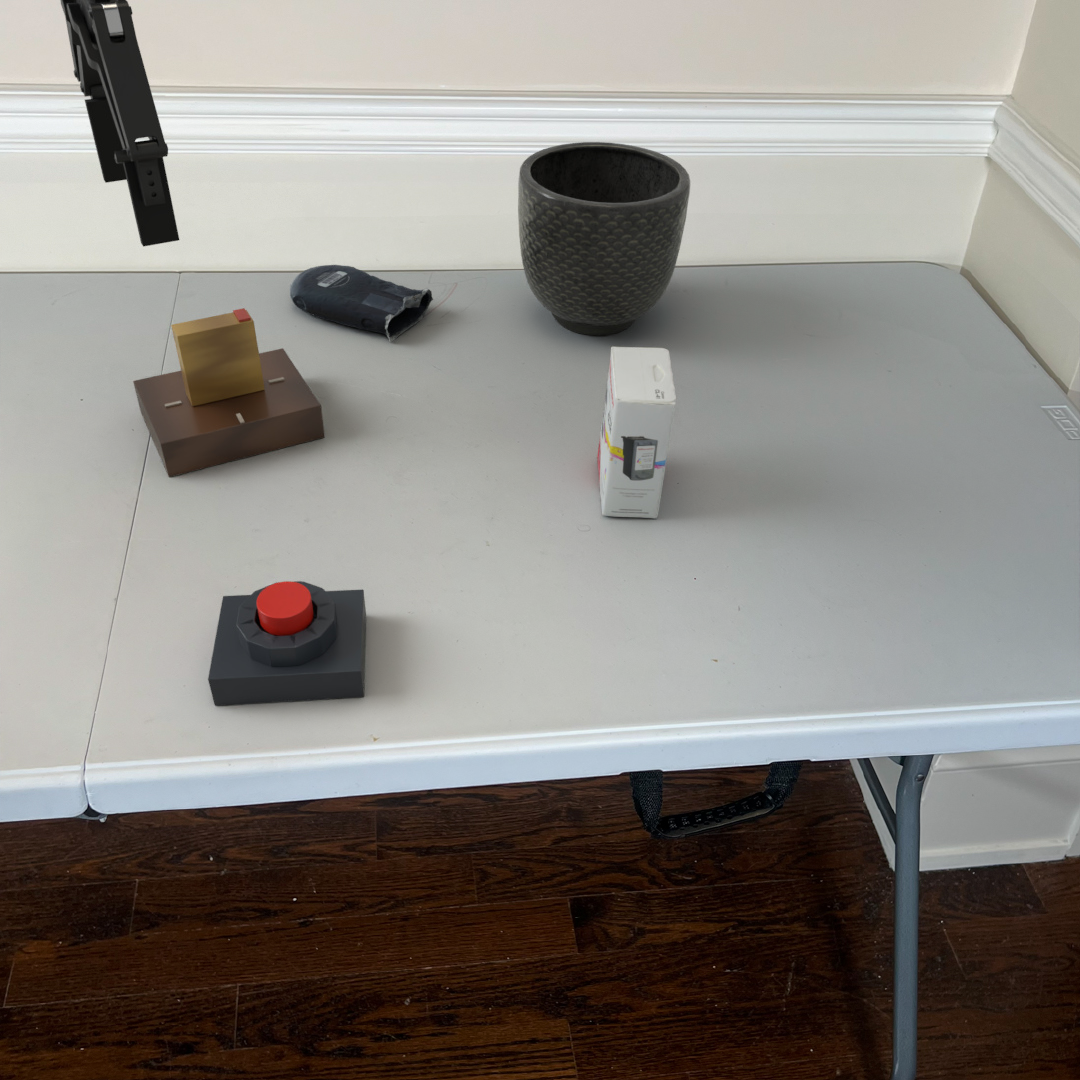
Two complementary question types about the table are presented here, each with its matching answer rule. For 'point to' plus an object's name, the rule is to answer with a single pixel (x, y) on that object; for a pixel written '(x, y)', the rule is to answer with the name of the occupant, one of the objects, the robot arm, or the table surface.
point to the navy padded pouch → (359, 299)
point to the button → (285, 608)
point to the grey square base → (290, 652)
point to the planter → (600, 231)
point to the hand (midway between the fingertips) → (139, 209)
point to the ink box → (635, 431)
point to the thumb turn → (218, 357)
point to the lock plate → (229, 417)
